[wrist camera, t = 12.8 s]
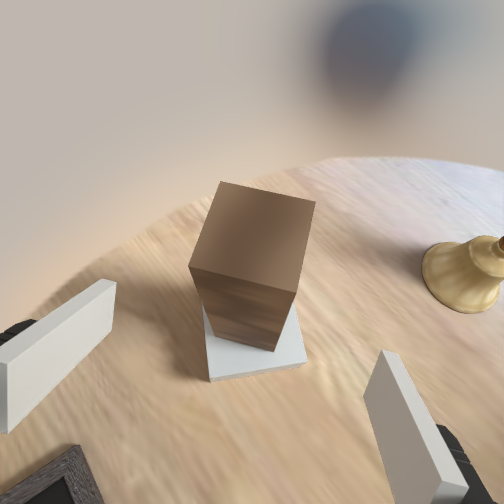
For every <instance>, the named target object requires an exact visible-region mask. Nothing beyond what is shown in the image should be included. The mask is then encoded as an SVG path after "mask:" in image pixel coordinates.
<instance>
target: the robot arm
mask: <svg viewBox="0 0 504 504" xmlns="http://www.w3.org/2000/svg"><path fill="white" fill-rule="evenodd" d="M116 284H117V282H114V281H110V280H106V279H100V280H99V281H97V282H96V283H94V284H93V285H91V286H90V287H88V288H87V289H85V290H84V291H82V292H81V293H79V294H78V295H76V296H75V297H73V298H72V299H70V300H69V301H67V302H66V303H64V304H63V305H61V306H60V307H58V308H57V309H55V310H54V311H52V312H51V313H49V314H48V315H46V316H45V317H43V318H42V319H40V320H39V321H36V320H32V319H29V320H26V321H23V322H20V323H17V324H15V325H13V326H12V327H10V328H9V329H7V330H6V331H4V333H1V334H0V433H4V434H9V433H10V432H11V431H12V430H13V429H14V428H15V427H16V426H17V425H18V424H19V423H20V422H21V421H22V420H23V419H24V418H25V417H26V416H27V415H28V414H29V413H30V412H31V411H32V410H33V409H34V408H35V407H36V406H37V405H38V404H39V403H40V402H41V401H42V400H43V399H44V398H45V397H46V396H47V395H48V394H49V393H50V392H51V391H52V390H53V389H54V388H55V387H56V386H57V385H58V384H59V383H60V382H61V381H62V380H63V379H64V378H65V377H66V376H67V375H68V374H69V373H70V372H71V371H72V370H73V369H74V368H75V367H76V366H77V365H78V364H79V363H80V362H81V361H82V360H83V359H84V358H85V357H86V356H87V355H88V354H89V353H90V352H91V351H92V350H93V349H94V348H95V347H96V346H97V345H98V344H99V343H100V342H101V341H102V340H103V339H104V338H105V337H106V336H107V335H108V334H109V333H110V332H111V331H112V322H113V312H114V303H115V293H116ZM363 397H364V400H365V404H366V407H367V410H368V414H369V417H370V420H371V424H372V427H373V431H374V434H375V437H376V441H377V444H378V447H379V451H380V454H381V457H382V461H383V464H384V467H385V471H386V474H387V477H388V481H389V484H390V487H391V491H392V494H393V497H394V501H395V504H498V503H496V502H493V500H492V499H491V497H490V495H489V493H488V492H487V490H486V488H485V486H484V485H483V483H482V481H481V480H480V478H479V476H478V474H477V473H476V471H475V469H474V468H473V466H472V465H471V464H470V461H469V459H468V457H467V456H466V454H464V450H463V449H462V447H461V445H460V443H459V442H458V440H457V438H456V437H455V436H454V435H453V434H452V433H451V432H450V431H449V430H448V429H447V428H446V427H445V426H442V425H438V424H435V423H434V421H433V419H432V417H431V415H430V413H429V411H428V410H427V408H426V406H425V404H424V402H423V400H422V398H421V396H420V395H419V393H418V391H417V389H416V387H415V385H414V383H413V381H412V380H411V378H410V376H409V374H408V372H407V370H406V368H405V366H404V365H403V363H402V361H401V359H400V357H399V355H398V353H394V352H390V351H386V350H381V352H380V355H379V357H378V360H377V362H376V365H375V368H374V370H373V373H372V375H371V378H370V380H369V383H368V385H367V388H366V390H365V393H364V395H363Z"/></svg>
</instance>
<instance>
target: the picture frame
mask: <svg viewBox="0 0 504 504" xmlns="http://www.w3.org/2000/svg"><path fill="white" fill-rule="evenodd" d="M0 504H105V503H104V501H103V498H102V496H101V494H100V491H99V489H98V486H97V484H96V482H95V479H94V477H93V475H92V472H91V470H90V468H89V465H88V463H87V461H86V458H85V456H84V453H83V451H82V449H81V446H80V445H76V446H74V447H72V448H71V449H69V450H68V451H66V452H65V453H63V454H62V455H60V456H59V457H57V458H56V459H54V460H53V461H52V462H50V463H49V464H47V465H46V466H44V467H43V468H41V469H40V470H38V471H37V472H35V473H34V474H32V475H31V476H29V477H28V478H26V479H25V480H23V481H22V482H20V483H19V484H17V485H16V486H14V487H13V488H11V489H10V490H8V491H7V492H5V493H4V494H2V495H1V496H0Z"/></svg>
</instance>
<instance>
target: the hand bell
mask: <svg viewBox="0 0 504 504" xmlns="http://www.w3.org/2000/svg"><path fill="white" fill-rule="evenodd" d="M422 274H423V278H424V280H425V283H426V285H427V287H428V288H429V290H430V291H431V292H432V294H433V295H434V296H435V297H436V298H437V299H438V300H439V301H440V302H442V303H443V304H445V305H446V306H448V307H449V308H452V309H453V310H456V311H459V312H463V313H468V314H474V313H480V312H484V311H486V310H488V309H489V308H490V307H491V306H493V304H494V303H495V301H496V300H497V298H498V295H499V290H500V283H501V282H502V281H503V280H504V236H503V237H501V238H500V239H498V238H496V237H493V236H486V235H484V236H478V237H476V238H474V239H472V240H470V241H468V242H466V243H463V244H461V243H456V242H444V243H440V244H437V245H435V246H432V247H431V248H430V249H429V250H428V251H427V252H426V254H425V255H424V257H423V260H422Z"/></svg>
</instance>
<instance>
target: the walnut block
mask: <svg viewBox="0 0 504 504" xmlns="http://www.w3.org/2000/svg"><path fill="white" fill-rule="evenodd" d="M314 207H315V202H314V201H309V200H305V199H300V198H296V197H291V196H286V195H282V194H277V193H273V192H268V191H263V190H259V189H254V188H249V187H245V186H240V185H236V184H231V183H226V182H220V184H219V186H218V189H217V191H216V194H215V197H214V199H213V202H212V205H211V207H210V210H209V212H208V215H207V218H206V220H205V223H204V226H203V228H202V231H201V233H200V236H199V239H198V241H197V244H196V246H195V249H194V252H193V254H192V257H191V260H190V262H189V265H188V267H189V270H190V272H191V275H192V278H193V280H194V283H195V286H196V288H197V291H198V294H199V296H200V299H201V301H202V304H203V307H204V309H205V312H206V315H207V317H208V320H209V322H210V325H211V328H212V330H213V333H214V336H215V337H218V338H222V339H226V340H230V341H233V342H237V343H241V344H244V345H248V346H252V347H256V348H259V349H263V350H267V351H271V352H274V351H275V348H276V346H277V343H278V340H279V338H280V335H281V332H282V330H283V327H284V324H285V322H286V319H287V316H288V314H289V311H290V308H291V306H292V303H293V300H294V298H295V295H296V292H297V288H298V283H299V278H300V273H301V269H302V264H303V259H304V254H305V250H306V245H307V240H308V235H309V231H310V226H311V221H312V217H313V212H314Z"/></svg>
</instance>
